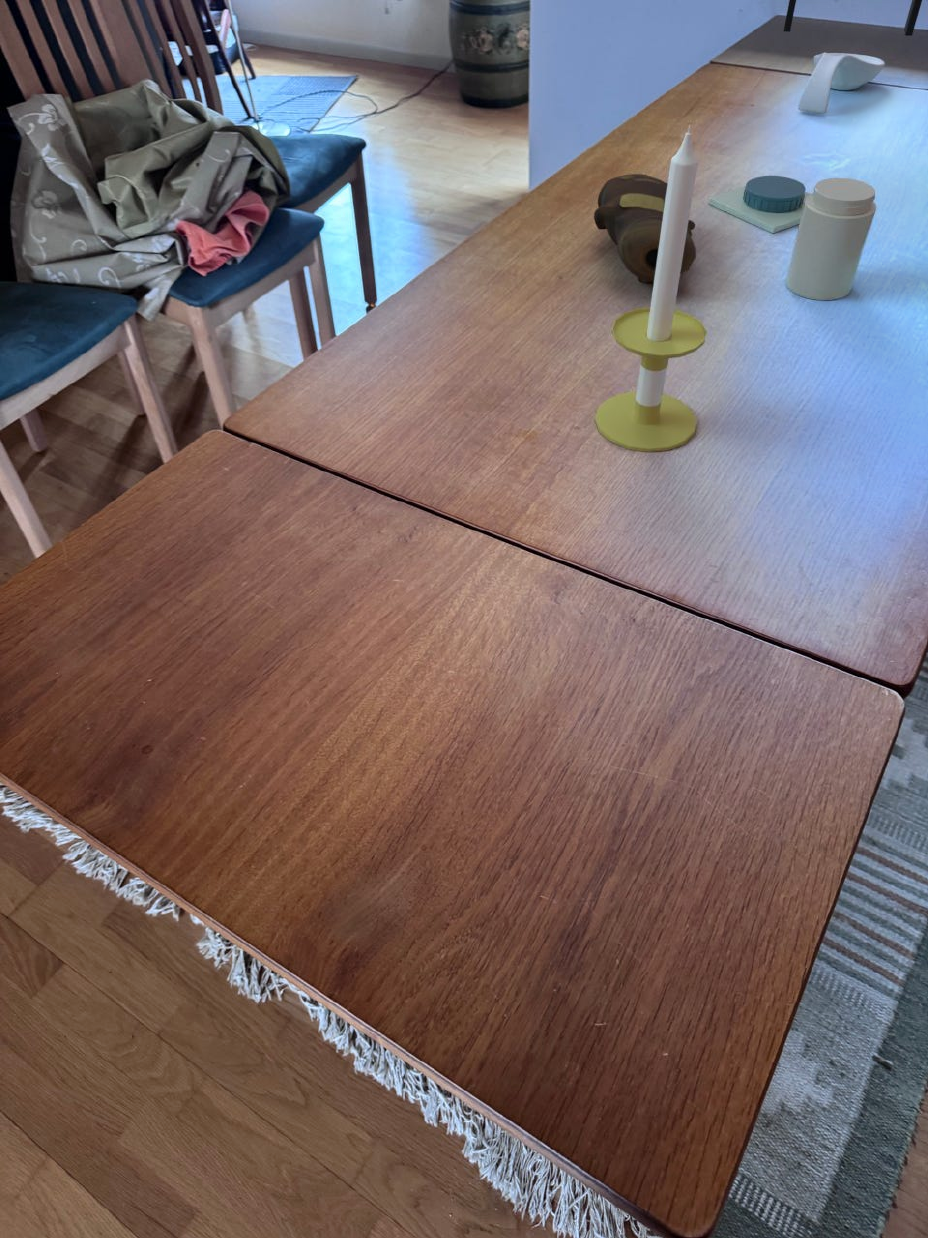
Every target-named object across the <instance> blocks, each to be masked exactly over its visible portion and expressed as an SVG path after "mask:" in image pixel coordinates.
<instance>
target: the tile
mask: <svg viewBox="0 0 928 1238" xmlns="http://www.w3.org/2000/svg"><path fill="white" fill-rule="evenodd" d="M745 187H746V185H744V186H740V187H737V188H735V189H730V190H728V191H725V192H722V193H719V194H716V195H713V196H710V197H709V198H708V203H707V204H708V205H711V206H713V207H715V208H717V209H719V210H721V211H723V212H725V211H726V212H725V213H728V214H730V215H732V216H734V217H736V218H738V219H741V220H743V221H745V222H748V223H749V224H750V225H753V226H756V227H758V228H760V229H762V230H764V231H766V232H769V233H771V234H776V233H778V232H781V231H784V230H787V229H789V228H792V227H795V226H797V225H798V226H799V224H800V220H801V216H802V212H803V208H804V204H805V200H806V198H807V197H808V196H810V195H811V194H812V193H809V192H808V191H805V197H804V201H803V205H801V207H800V208H798V209H797V210H794V211H791V212H785V213H770V212H763V211H759V210H756V209H753V208H751V207H749V206H748V205H746V204H745V202H744V200H743V196H744V191H745Z"/></svg>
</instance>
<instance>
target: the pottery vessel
mask: <svg viewBox="0 0 928 1238" xmlns="http://www.w3.org/2000/svg"><path fill="white" fill-rule="evenodd" d="M667 185H668V182H666V181H664V180H662V179H660V178H658V177H654V176H651V175H647V174H642V173H641V174H640V173H630V174H624V175H620V176H615V177H612V178H610V179H608V180H606V182H605V183H604V184H603V186H602V188H601V190H600V192H599V193H598V196H597V208H596V209H595V210H594V212H593V220H594V223H595V225H596V227H597V229H598V230H599V231H601V230H606V231H607V234H608V236H609V237H610V239H611V241H612V242H613V243H614V244H615V245H616V246H617V252H618V255H619V259H620V261H621V262H622V264H623V265H624V267H625V268H626V269H627V270H628V271H629V272H630V273H631V274H633V275H634V276H635V277H637V281H638V282H644V283H650V282H654V279H655V271H656V264H657V257H658V250H659V243H660V235H661V228H662V221H663V214H664V207H665V199H666V192H667ZM694 229H696V223H695V221H693V220H691V219H689V221H688V227H687V234H686V240H685V246H684V252H683V259H682V265H681V271H680V276H682V275H684V274H685V273H686V272H687V271H689V270H690V269H691V267H692V266H693V263H694V262H695V260H696V258H697V257H696V256H697V248H696V245H695V242H694V240H693V238H692V236H693V233H692V231H693V230H694Z"/></svg>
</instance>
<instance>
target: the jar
mask: <svg viewBox="0 0 928 1238" xmlns="http://www.w3.org/2000/svg"><path fill="white" fill-rule="evenodd" d="M812 191H813V192H812V193H810V194H811V195H810V196H808V197H807V198H806V200H805V204H804V208H803V212H802V216H801V220H800V224H798V229H797V232H796V237H795V241H794V243H793V248H792V252H791V256H790V260H789V264H788V268H787V272H786V276H785V280H784V283H785V286H786V288H787V289H788V290H789V291H791V292H792V293H794V294H795V295H798V296H800V297H802V298H806V299H809V300H817V301H832V300H833V301H834V300H839V299H842V298H844V297H846V296H847V295H849V294H850V292H851V291H852V288H853V285H854V281H855V278H856V275H857V272H858V269H859V266H860V262H861V259H862V257H863V253H864V250H865V246H866V243H867V240H868V236H869V233H870V230H871V227H872V223H873V221H874V217H875V214H876V211H877V205H876V203H875V202H874V201H875V199H876V189H875V188H874V187H873V186H872V185H871V184H870V183H867V182H865V181H861V180H859V179H855V178H849V177H829V178H825V179H821V180H819V181H818V182H816V183H815V185H814V187H813V190H812Z"/></svg>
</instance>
